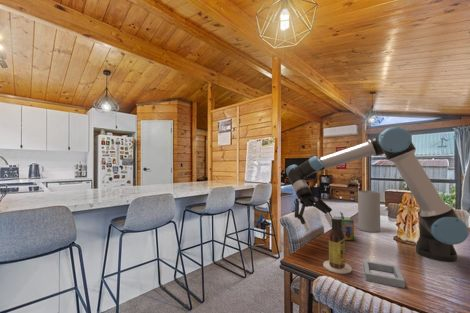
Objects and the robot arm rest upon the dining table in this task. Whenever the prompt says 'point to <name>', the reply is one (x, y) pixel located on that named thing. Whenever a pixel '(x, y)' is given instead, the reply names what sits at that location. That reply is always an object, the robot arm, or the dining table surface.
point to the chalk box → (347, 227)
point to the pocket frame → (383, 279)
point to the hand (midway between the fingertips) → (320, 227)
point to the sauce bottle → (336, 244)
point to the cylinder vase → (369, 211)
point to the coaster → (345, 270)
